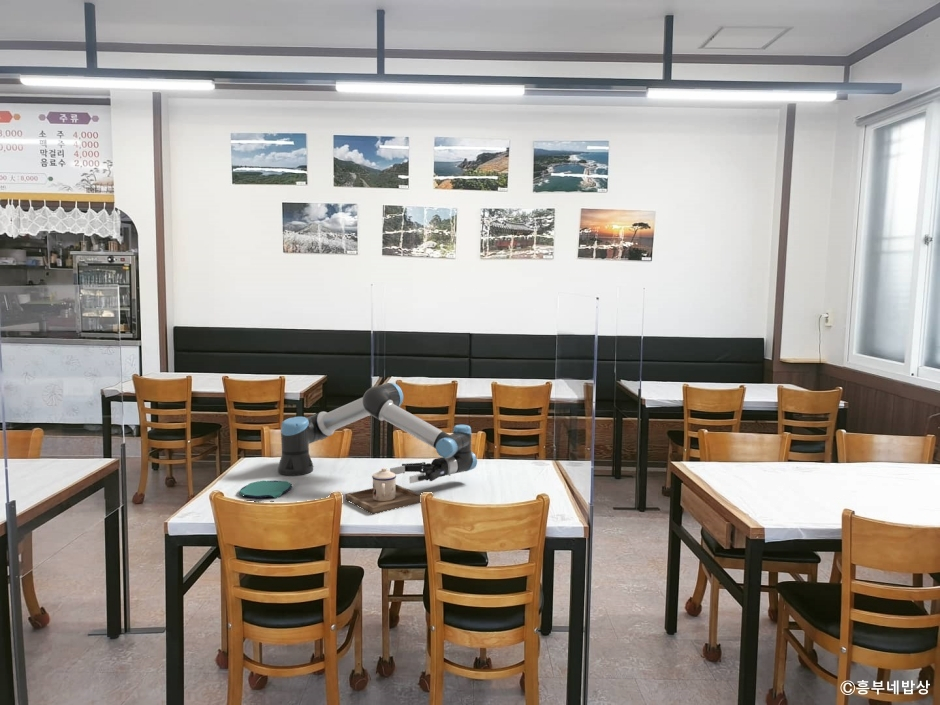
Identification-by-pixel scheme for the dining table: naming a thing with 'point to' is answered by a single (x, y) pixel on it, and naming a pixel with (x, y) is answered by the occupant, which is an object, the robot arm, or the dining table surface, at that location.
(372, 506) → the walnut tray
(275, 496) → the green cloth
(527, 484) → the dining table surface
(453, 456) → the robot arm
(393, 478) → the teacup with lid
